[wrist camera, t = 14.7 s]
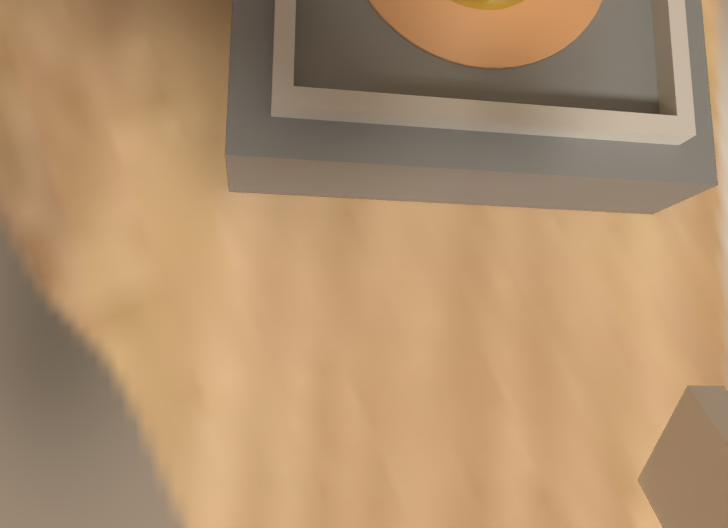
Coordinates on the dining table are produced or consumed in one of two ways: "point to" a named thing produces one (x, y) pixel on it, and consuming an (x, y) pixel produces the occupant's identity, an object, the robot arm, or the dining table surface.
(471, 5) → the plant pot
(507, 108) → the grey square tray
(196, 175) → the dining table surface
